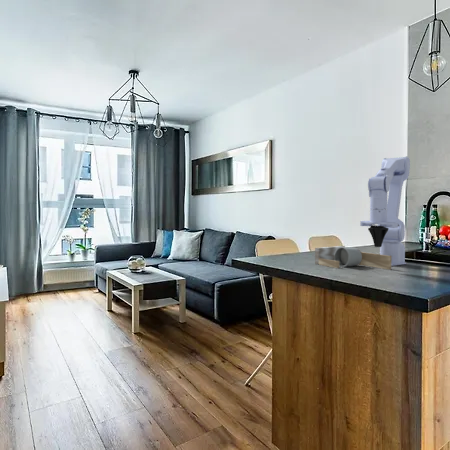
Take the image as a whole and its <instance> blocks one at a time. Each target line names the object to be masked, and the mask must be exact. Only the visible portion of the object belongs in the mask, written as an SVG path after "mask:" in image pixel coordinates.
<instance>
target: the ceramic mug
mask: <svg viewBox="0 0 450 450" xmlns="http://www.w3.org/2000/svg"><path fill="white" fill-rule="evenodd" d="M361 252H362V251H361V250H360V249H359V248H357V247H354V246H353V247H346V246H345V247H340V248H338V249H337V250H336V252H335V259H334V261H339V268H346V267H355V266H358V265H359V264H360V263H361V261H362V253H361Z"/></svg>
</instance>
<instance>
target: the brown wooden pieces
mask: <svg viewBox="0 0 450 450" xmlns="http://www.w3.org/2000/svg"><path fill="white" fill-rule="evenodd" d="M340 247H346V246H345V245H335V246H322V247H315V249H314V264H315V265H318V264H319V266H325V267H330V268H335V269H340V266H339V261H334V259H335V252H336V250H337V249H338V248H340ZM361 253H362V261H361V263H360V264H358V265H359V266H366V267H371V268H378V269H383V270H392V266H391V259H392V256H388V255H381V254H380V253H372V252H364V251H361Z"/></svg>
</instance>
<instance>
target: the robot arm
mask: <svg viewBox="0 0 450 450" xmlns="http://www.w3.org/2000/svg"><path fill="white" fill-rule="evenodd" d="M410 170H411V161H410V157H408V156H400V157H390V158H389V157H388V158H387V157H385V158H383V159H382V160H381V168H380V169H379V170H378V171H377V173H376V174H375V175H374V176H371V177H370V178H368V181H367V188H368V189H367V190H368V196H369V220H360V227H367V228H368V232H369V234H370V235H371V238H372V241H373V245H374V247H375V248H379V254H381V255H388V256H392V259H391V267H394V266H395V267H396V266H401V265H407V262H406V261H405V260H406V259H405V258H406V247H405V245H404V243H402V242H403V241H404V240H405V235H406V231H405V230H406V228H405V223H404V221H402V220H401V219H399V213H400V207H401V206H400V205H401V198H402V190H403V185H404V182H405V181H406V180H408V179H409V176H410V172H411V171H410Z"/></svg>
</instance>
